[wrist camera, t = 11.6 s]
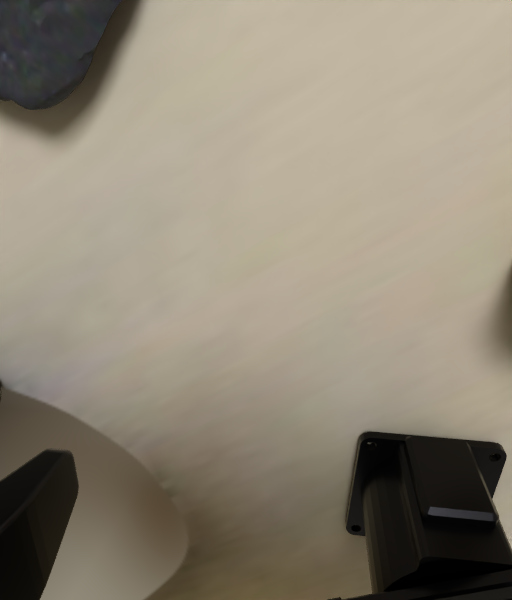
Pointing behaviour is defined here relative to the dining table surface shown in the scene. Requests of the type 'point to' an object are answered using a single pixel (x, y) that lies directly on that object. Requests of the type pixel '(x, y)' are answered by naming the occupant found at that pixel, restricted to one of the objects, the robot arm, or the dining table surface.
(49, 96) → the dark slate chunk
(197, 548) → the dining table surface
